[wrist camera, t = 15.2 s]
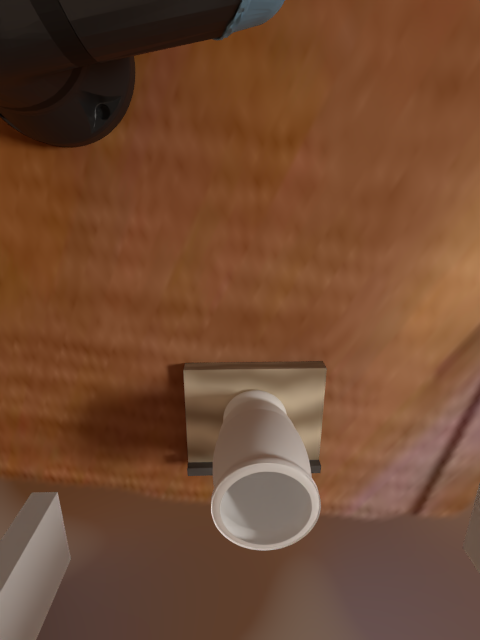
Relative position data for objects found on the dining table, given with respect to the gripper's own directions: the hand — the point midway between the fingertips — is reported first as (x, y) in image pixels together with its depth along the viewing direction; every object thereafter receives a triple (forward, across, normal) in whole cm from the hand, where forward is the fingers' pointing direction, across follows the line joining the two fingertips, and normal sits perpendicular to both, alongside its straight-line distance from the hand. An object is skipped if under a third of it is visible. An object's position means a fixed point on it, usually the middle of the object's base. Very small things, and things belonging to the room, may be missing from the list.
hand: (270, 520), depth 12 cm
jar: (+33, +2, -18) cm, 38 cm away
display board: (+35, +2, -18) cm, 39 cm away
